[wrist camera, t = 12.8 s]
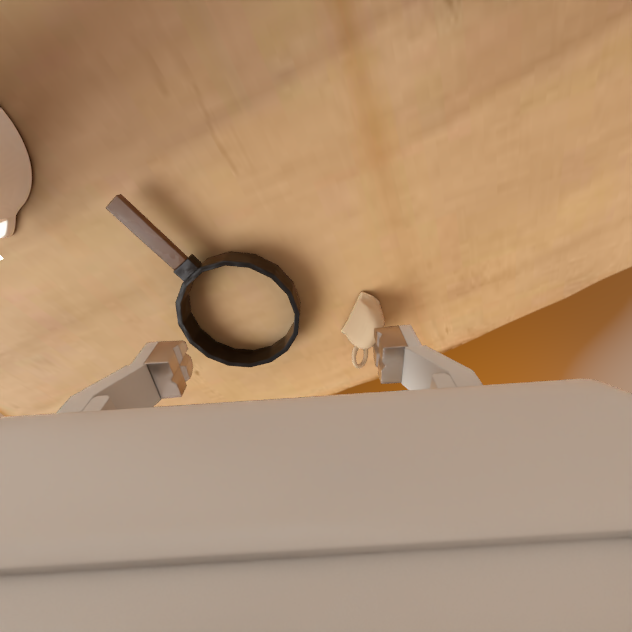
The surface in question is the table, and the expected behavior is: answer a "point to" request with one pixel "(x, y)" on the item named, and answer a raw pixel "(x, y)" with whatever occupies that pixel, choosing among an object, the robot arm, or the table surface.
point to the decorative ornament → (363, 325)
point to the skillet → (191, 270)
